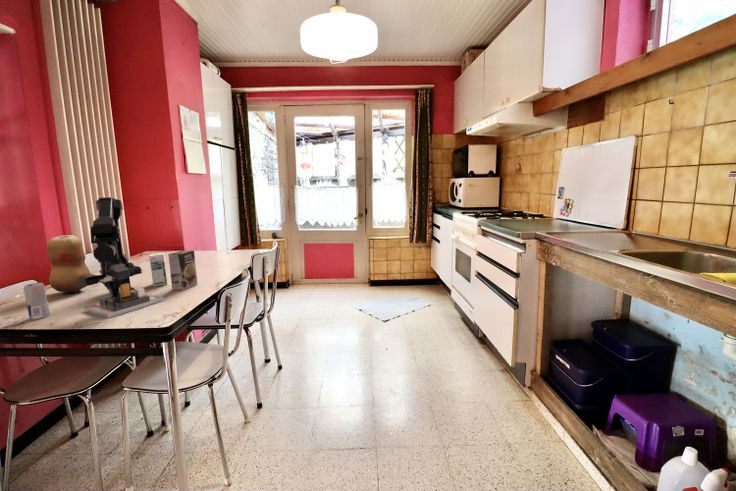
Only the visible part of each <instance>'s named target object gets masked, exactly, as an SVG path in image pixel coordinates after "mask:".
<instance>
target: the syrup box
mask: <svg viewBox="0 0 736 491" xmlns="http://www.w3.org/2000/svg"><path fill="white" fill-rule="evenodd" d="M148 257H149V265H150V266H149V267H150V270H151V271H150V272H151V279H152V286H153V287H158V286H166V285H168V276H167V275H168V274H167V268H166V258H165V252H157V253H150V254H149V256H148Z"/></svg>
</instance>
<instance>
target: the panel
mask: <svg viewBox="0 0 736 491" xmlns="http://www.w3.org/2000/svg"><path fill="white" fill-rule="evenodd" d="M130 294H131V295H130V296H126V297H122V296H121V293H120V288H119V293H118V295H117V297H113V296H112V294H110V295H106V296H101V297H98V303H95V304H91V305H86V306H84V307H83V311H84V312H86V313H90V314H92V315H95V316H99V317H103V318H106V319H111V318H113V317H116V316H120V315H123V314H126V313H129V312H132V311H135V310H138V309H142V308H145V307H147V306H151V305H155V304H158V303H161V302H163V301H164V297H163V296H161V295H160V296H158V295H154V294H151V293H146V292H145V288H144V287H140V288H136V289H134V292H133V291H130Z"/></svg>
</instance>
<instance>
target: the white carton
mask: <svg viewBox="0 0 736 491" xmlns="http://www.w3.org/2000/svg"><path fill="white" fill-rule="evenodd" d="M45 287H46V286H45V284H44V283H43V282H35V283H29V284H25V285H24V286H23V293H24V297H25V303H26V308H27V313H28V317H29V320H33V321H34V320H35V321H36V320H41V319H44V318H47V317H50V307H49V303H48V302H49V301H48V298H47V292H46V288H45Z"/></svg>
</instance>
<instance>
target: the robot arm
mask: <svg viewBox="0 0 736 491" xmlns="http://www.w3.org/2000/svg"><path fill="white" fill-rule="evenodd" d="M95 205H96V211H98V214H97V215H98V216H97V217H98V218H96V219H95V220H93V223H92V225H91V226H90V242H91V244H96V247H95V249H94V250H93V253H92V255H93V257H94V259H95V260H97V263H99V264H100V270H99V274H98V275H97V274H93V273H90V274H89V275H84V276H80V277H79V284H81V285H85V286H87V287H88V286H93V285H98V284H99V283H100V284H102V285H103V286H104V287H105V288H106V289H107V290H108V292H109V293H110V295H112V296H113V297H117V295H118V293H119V288H120V285H121V284H124V283H128V284H130V285H129V287H130V291H132V290H136V289H135V287H132V286H131V285H132V284H131V278H130V277H133V276H137V275H140V274H142V273H143V270H142V267H141V266H139V265H134V263H133V262H130V261H129V258H128V257H127V256H126V255H125V254H124V249H123V248H124V247H123V243H122V236H121V229H120V222H119V220H120V218H121V216H122V215H123V211H124V207H123V206H124V205H123V202H122V200H120V199H117V198H114V197H112V196H111V197H109V196H107V197H98V199H96V200H95Z"/></svg>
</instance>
